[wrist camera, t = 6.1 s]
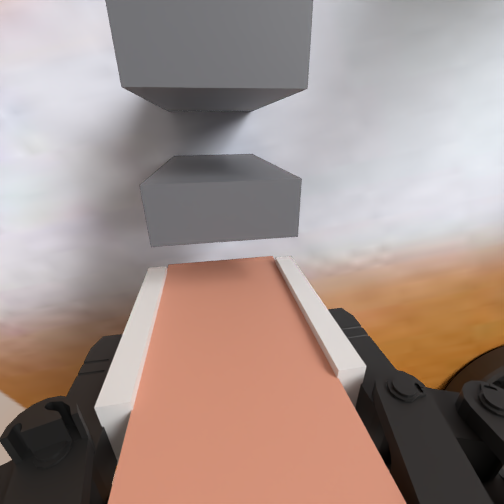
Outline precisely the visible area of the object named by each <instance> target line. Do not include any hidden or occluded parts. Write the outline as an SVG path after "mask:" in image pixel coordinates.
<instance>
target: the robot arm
mask: <svg viewBox="0 0 504 504" xmlns="http://www.w3.org/2000/svg"><path fill="white" fill-rule="evenodd" d="M275 263H276V265H277V267H278V269H279V270H280V272H281V274H282V276H283V278H284V280H285V282H286V283H287V285H288V287H289V289H290V291H291V293H292V295H293V297H294V298H295V300H296V302H297V304H298V306H299V308H300V310H301V311H302V313H303V315H304V317H305V319H306V321H307V323H308V324H309V326H310V328H311V330H312V332H313V334H314V336H315V338H316V339H317V341H318V343H319V345H320V347H321V349H322V351H323V352H324V354H325V356H326V358H327V360H328V362H329V364H330V366H331V367H332V369H333V371H334V373H335V375H336V377H337V378H339V380H340V382H341V384H342V385H343V387H344V389H345V391H346V393H347V395H348V396H349V398H350V400H351V402H352V404H353V406H354V408H355V409H356V411H357V413H358V415H359V417H360V419H361V420H362V422H363V424H364V426H365V428H366V430H367V432H368V433H369V435H370V437H371V439H372V441H373V443H374V444H375V446H376V448H377V450H378V452H379V454H380V455H381V457H382V459H383V461H384V463H385V465H386V467H387V468H388V470H389V472H390V474H391V476H392V478H393V479H394V481H395V483H396V485H397V487H398V489H399V491H400V492H401V494H402V496H403V498H404V500H405V502H406V503H407V504H504V346H503V347H500V348H498V349H495V350H493V351H491V352H489V353H487V354H485V355H483V356H481V357H480V358H478V359H476V360H475V361H473V362H472V363H471V364H469V365H468V366H467V367H465V368H464V369H463V370H462V371H461V372H460V373H459V374H458V375H457V376H456V377H455V378H454V379H453V380H452V381H451V382H450V383H449V385H448V386H447V387H446V389H445V390H438V389H431V388H427V387H425V386H424V384H423V383H421V382H420V381H419V380H418V379H416V378H415V377H414V376H412V375H409V374H407V373H405V372H403V371H398V370H396V369H395V368H394V366H393V365H392V364H391V363H390V361H389V360H388V359H387V358H386V356H385V355H384V354H383V353H382V351H381V350H380V349H379V348H378V346H377V345H376V344H375V343H374V341H373V340H372V339H371V338H370V336H368V334H367V333H366V331H365V330H364V329H363V328H361V325H360V324H359V322H358V321H357V320H356V319H355V317H354V316H353V315H351V314H350V313H348V312H347V311H345V310H344V309H342V308H337V309H327V308H326V306H325V305H324V303H323V302H322V301H321V299H320V298H319V296H318V295H317V293H316V292H315V290H314V289H313V287H312V286H311V284H310V283H309V282H308V280H307V279H306V277H305V276H304V274H303V273H302V271H301V270H300V268H299V267H298V266H297V264H296V263H295V261H294V260H293V258H292V257H291V256H285V257H276V258H275ZM166 275H167V267H166V266H165V267H153V268H148V271H147V273H146V276H145V279H144V281H143V284H142V286H141V289H140V291H139V294H138V296H137V299H136V302H135V304H134V307H133V309H132V312H131V314H130V317H129V320H128V322H127V325H126V327H125V330H124V332H123V334H120V335H112V336H103V337H102V338H101V339H100V340H99V341H98V342H97V343H96V344H95V345H94V346H93V347H92V348H91V349H90V351H89V353H88V355H87V357H86V359H85V361H84V365H82V367H81V369H80V371H79V373H78V376H77V377H76V379H75V381H74V383H73V385H72V387H71V389H70V391H69V393H68V394H67V396H66V397H65V396H57V397H52V398H47V399H45V400H42V401H40V402H38V403H36V404H33V405H32V406H30V407H29V408H28V409H26V410H25V411H23V412H22V413H20V414H19V415H18V416H17V417H16V418H15V419H14V420H13V421H12V422H11V423H10V424H9V425H8V426H7V427H6V429H5V431H4V432H3V434H2V436H1V437H0V442H1V444H2V445H3V447H4V448H5V450H6V451H7V453H8V454H9V456H10V457H11V458H12V460H11V461H9V462H8V463H5V464H3V465H1V466H0V504H108V500H109V496H110V492H111V489H112V481H113V477H114V473H115V469H116V465H118V461H119V457H120V453H121V449H122V445H123V441H124V437H125V434H126V430H127V426H128V422H129V418H130V414H131V410H133V407H134V403H135V399H136V395H137V391H138V387H139V383H140V379H141V375H142V371H143V367H144V363H145V359H146V355H147V351H148V347H149V343H150V339H151V335H152V331H153V327H154V323H155V319H156V315H157V311H158V307H159V303H160V299H161V295H162V291H163V287H164V283H165V279H166Z"/></svg>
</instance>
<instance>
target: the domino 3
mask: <svg viewBox="0 0 504 504" xmlns="http://www.w3.org/2000/svg"><path fill="white" fill-rule="evenodd" d="M108 504H407V503H406V502H405V500H404V498H403V496H402V494H401V492H400V491H399V489H398V487H397V485H396V483H395V481H394V479H393V478H392V476H391V474H390V472H389V470H388V468H387V467H386V465H385V463H384V461H383V459H382V457H381V455H380V454H379V452H378V450H377V448H376V446H375V444H374V443H373V441H372V439H371V437H370V435H369V433H368V432H367V430H366V428H365V426H364V424H363V422H362V420H361V419H360V417H359V415H358V413H357V411H356V409H355V408H354V406H353V404H352V402H351V400H350V398H349V396H348V395H347V393H346V391H345V389H344V387H343V385H342V384H341V382H340V380H339V378H337V377H336V375H335V373H334V371H333V369H332V367H331V366H330V364H329V362H328V360H327V358H326V356H325V354H324V352H323V351H322V349H321V347H320V345H319V343H318V341H317V339H316V338H315V336H314V334H313V332H312V330H311V328H310V326H309V324H308V323H307V321H306V319H305V317H304V315H303V313H302V311H301V310H300V308H299V306H298V304H297V302H296V300H295V298H294V297H293V295H292V293H291V291H290V289H289V287H288V285H287V283H286V282H285V280H284V278H283V276H282V274H281V272H280V270H279V269H278V267H277V265H276V263H275V260H274V258H273V256H267V257H255V258H243V259H231V260H219V261H207V262H195V263H182V264H170V265H168V269H167V275H166V279H165V283H164V287H163V291H162V295H161V299H160V303H159V307H158V311H157V315H156V319H155V323H154V327H153V331H152V335H151V339H150V343H149V347H148V351H147V355H146V359H145V363H144V367H143V371H142V375H141V379H140V383H139V387H138V391H137V395H136V399H135V403H134V407H133V410H131V414H130V418H129V422H128V426H127V430H126V434H125V437H124V441H123V445H122V449H121V453H120V457H119V461H118V465H117V469H116V473H115V477H114V481H113V485H112V489H111V492H110V496H109V500H108Z"/></svg>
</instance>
